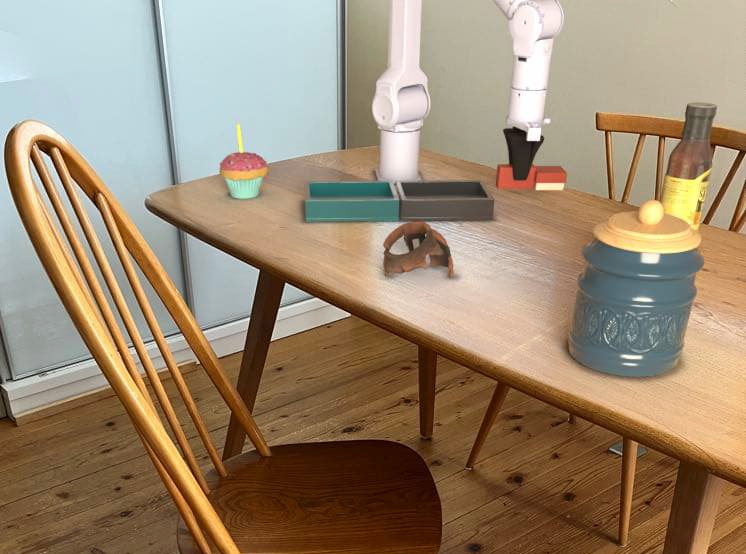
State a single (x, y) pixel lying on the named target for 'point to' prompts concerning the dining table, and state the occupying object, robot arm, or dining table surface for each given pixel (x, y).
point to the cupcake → (243, 171)
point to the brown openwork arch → (416, 249)
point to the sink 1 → (351, 201)
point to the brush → (532, 178)
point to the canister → (635, 293)
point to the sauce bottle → (690, 166)
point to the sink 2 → (444, 200)
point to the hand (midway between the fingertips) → (518, 177)
